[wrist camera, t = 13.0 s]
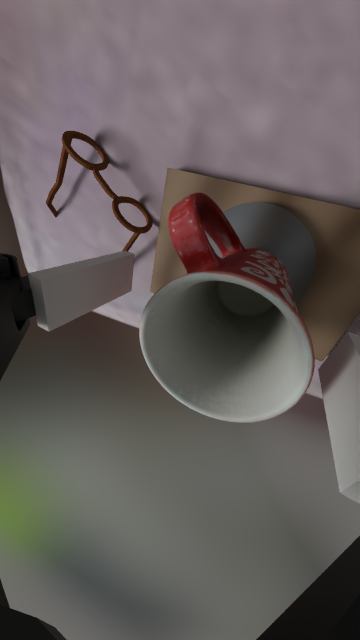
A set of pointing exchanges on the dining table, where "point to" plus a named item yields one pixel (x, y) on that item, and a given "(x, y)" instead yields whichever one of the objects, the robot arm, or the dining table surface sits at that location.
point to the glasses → (96, 168)
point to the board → (281, 247)
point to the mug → (226, 323)
